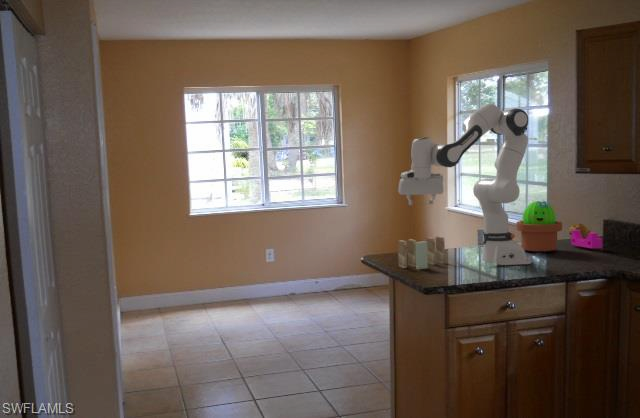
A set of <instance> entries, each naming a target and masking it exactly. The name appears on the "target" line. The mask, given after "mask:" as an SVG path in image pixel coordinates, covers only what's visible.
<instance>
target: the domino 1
mask: <svg viewBox="0 0 640 418" xmlns="http://www.w3.org/2000/svg"><path fill="white" fill-rule="evenodd" d="M416 242H417V240H415V239H412V238H409V239H407V266H409V267H413V268H416Z"/></svg>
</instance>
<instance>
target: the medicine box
mask: <svg viewBox="0 0 640 418" xmlns="http://www.w3.org/2000/svg"><path fill="white" fill-rule="evenodd" d="M483 232H484V228H478V229H477V246H484V244H483Z"/></svg>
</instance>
